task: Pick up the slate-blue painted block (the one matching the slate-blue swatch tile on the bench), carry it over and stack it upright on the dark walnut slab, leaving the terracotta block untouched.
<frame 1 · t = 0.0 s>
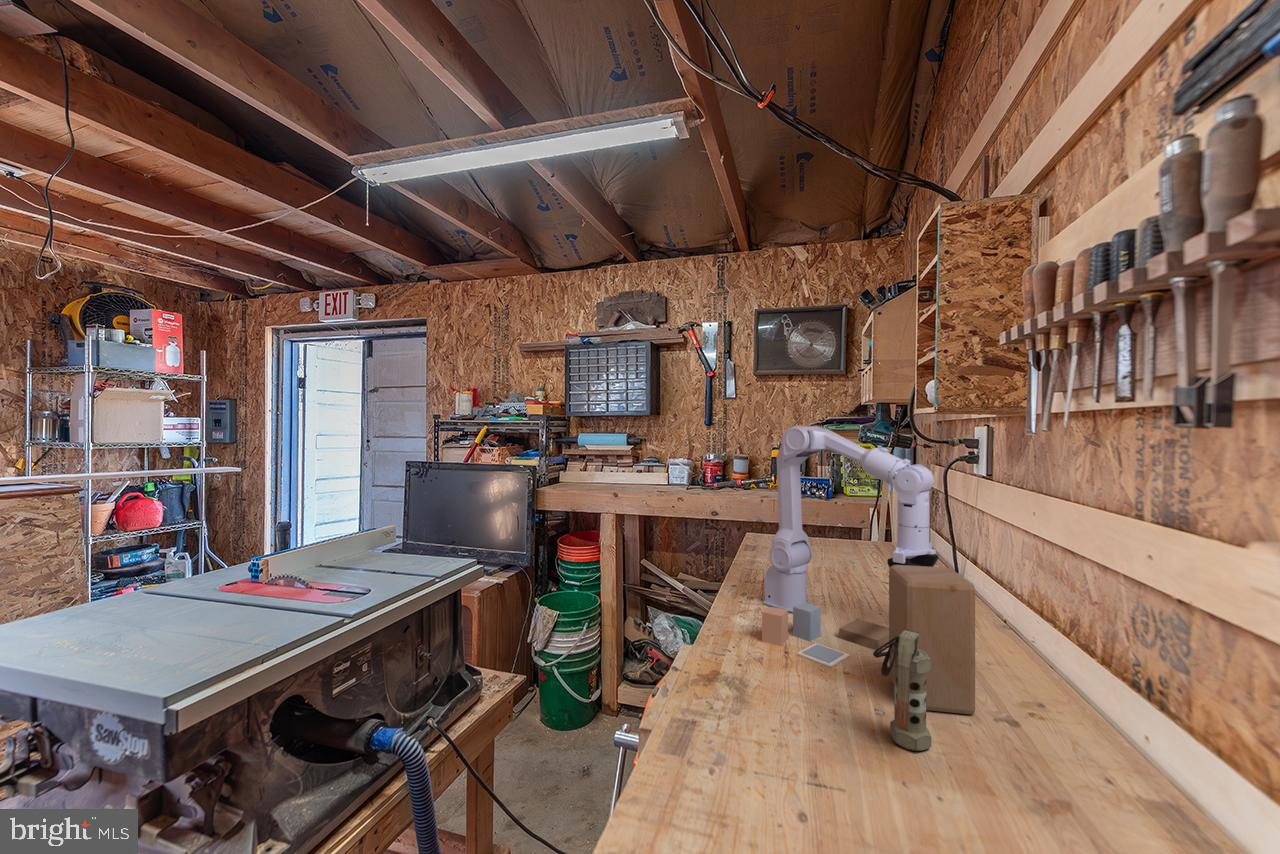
hand: (913, 592, 102), 10 cm above the table, fingers open, 7 cm apart
wooden block: (929, 698, 82), on the table
walnut slab: (867, 641, 104), on the table
swatch tile: (823, 655, 97), on the table
terracotta block: (774, 640, 104), on the table
blue block: (806, 636, 106), on the table
grenade model: (901, 744, 70), on the table
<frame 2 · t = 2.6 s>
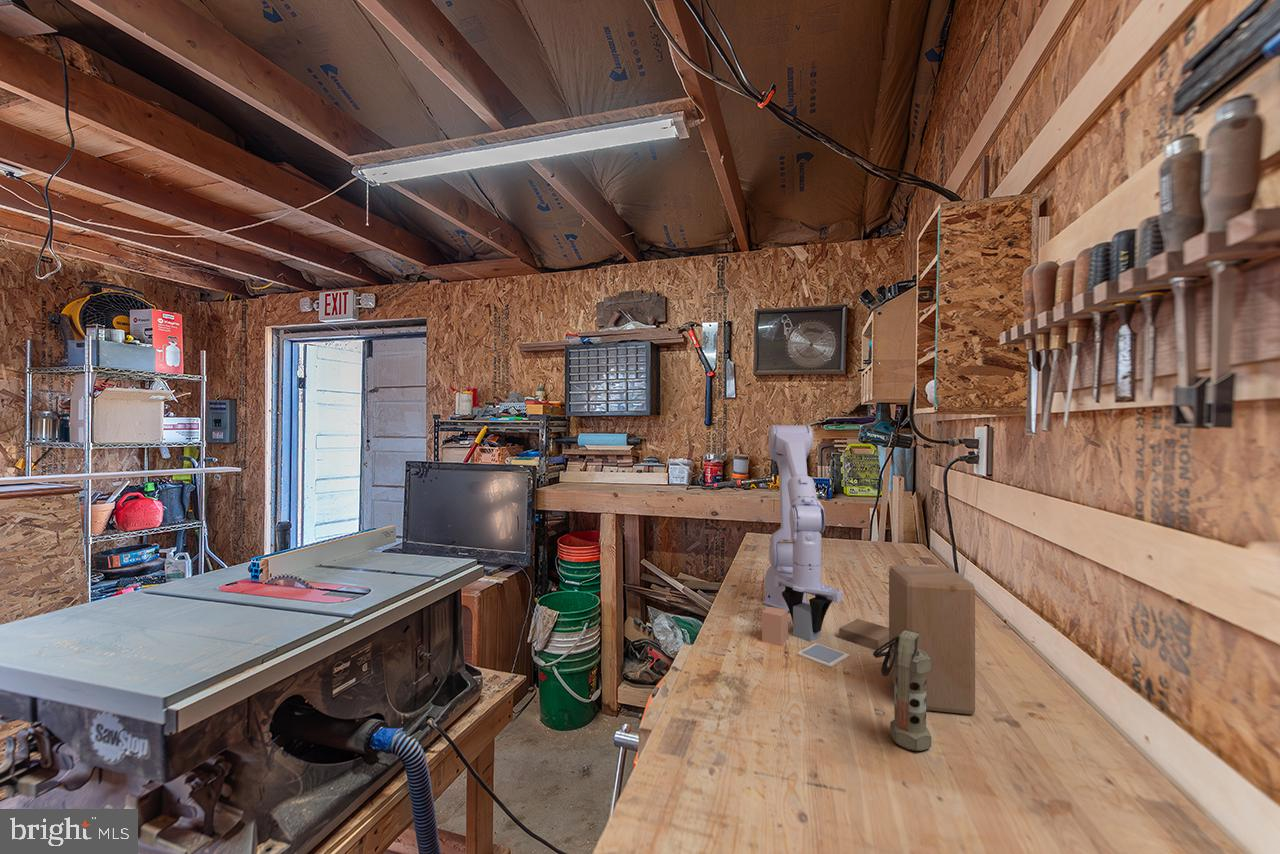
hand: (806, 628, 106), 2 cm above the table, fingers closed on blue block, 4 cm apart
blue block: (806, 635, 106), on the table, touching gripper
everything else where it was.
when the fingers open (5 cm above the table, at t = 5.3 s): blue block stays where it is, resting on walnut slab.
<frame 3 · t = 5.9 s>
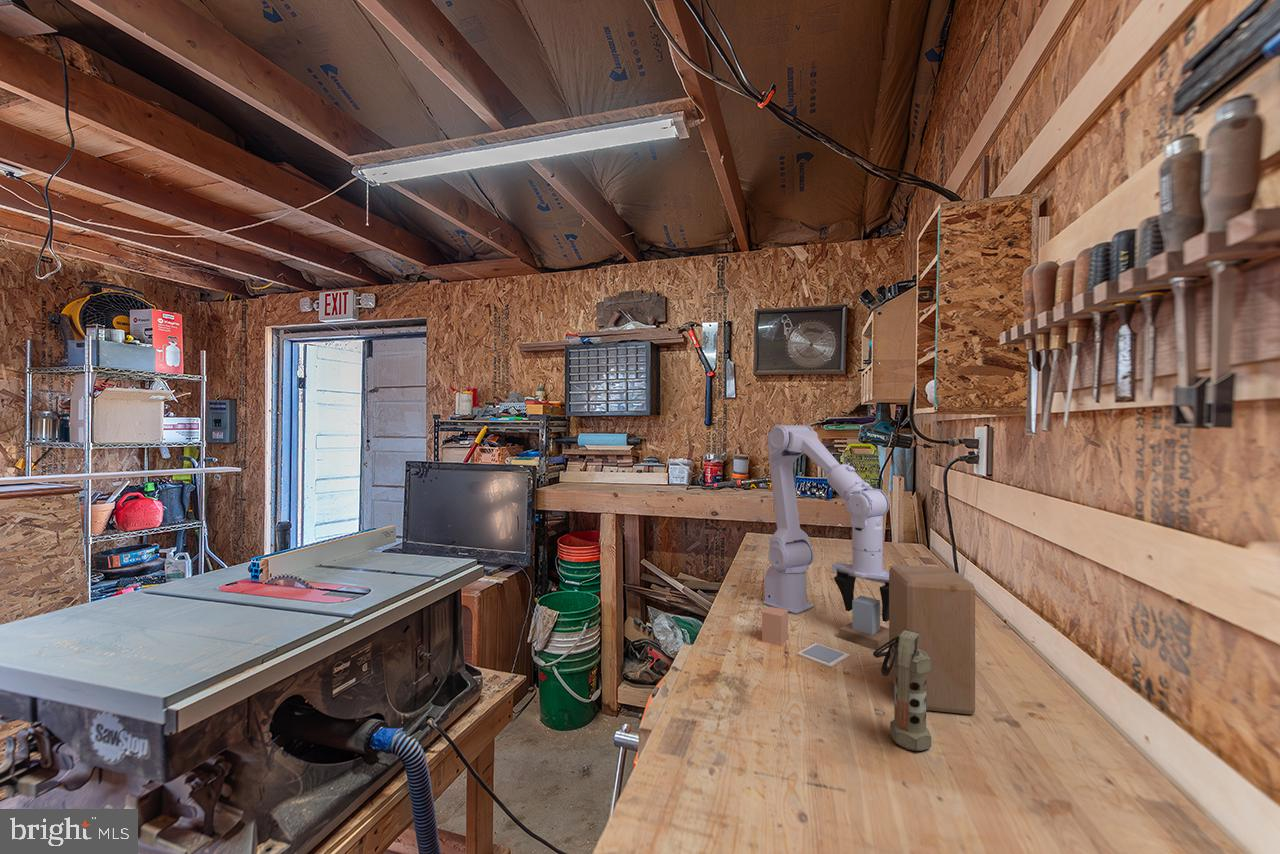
hand: (867, 614, 104), 5 cm above the table, fingers open, 7 cm apart
walnut slab: (867, 641, 104), on the table, touching blue block
blue block: (866, 629, 104), point 2 cm above the table, touching walnut slab
everything else where it was.
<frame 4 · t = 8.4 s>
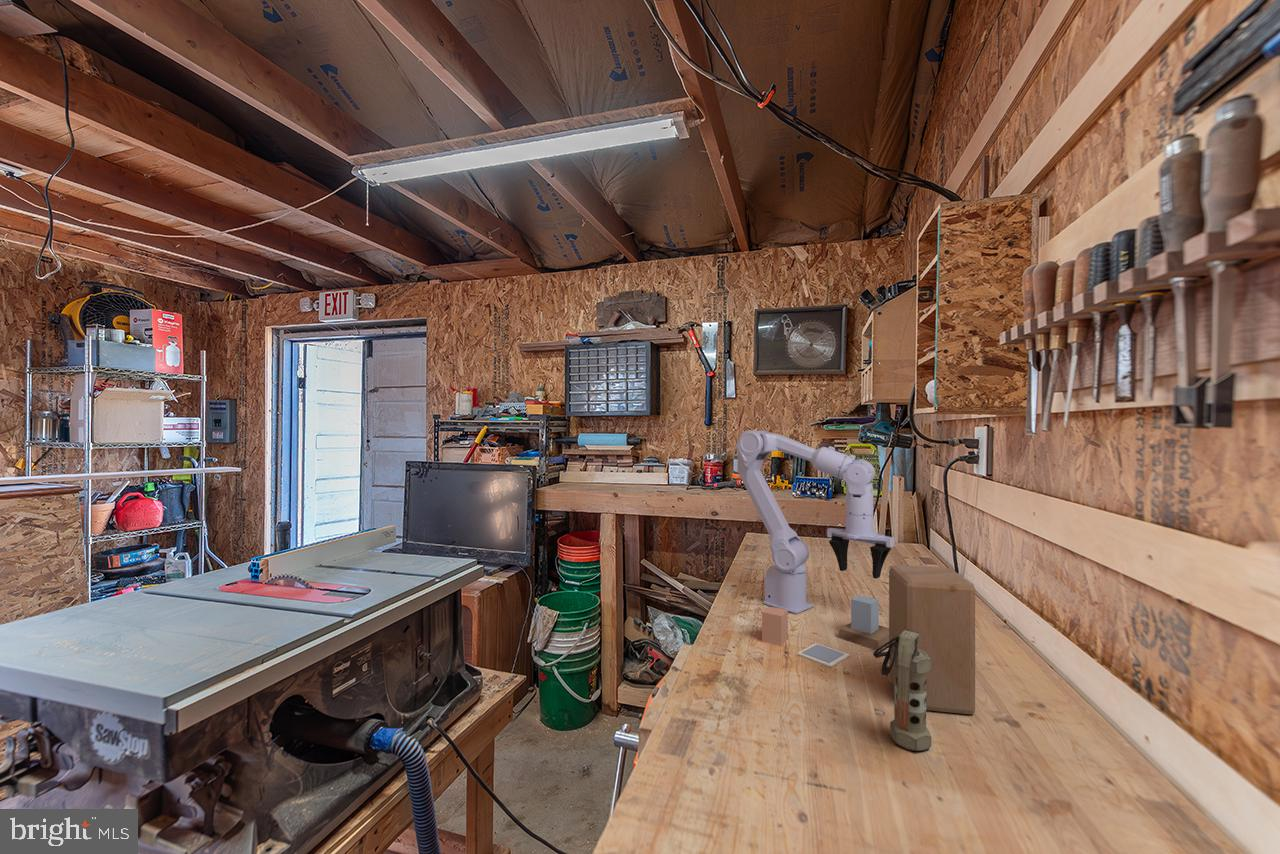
hand: (859, 573, 115), 10 cm above the table, fingers open, 7 cm apart
nothing on the table moved.
at the end: blue block 0.4 cm off-centre on the walnut slab, point 2.6 cm above the walnut slab's base; blue block tilted 1°; terracotta block moved 0.1 cm from its start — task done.
